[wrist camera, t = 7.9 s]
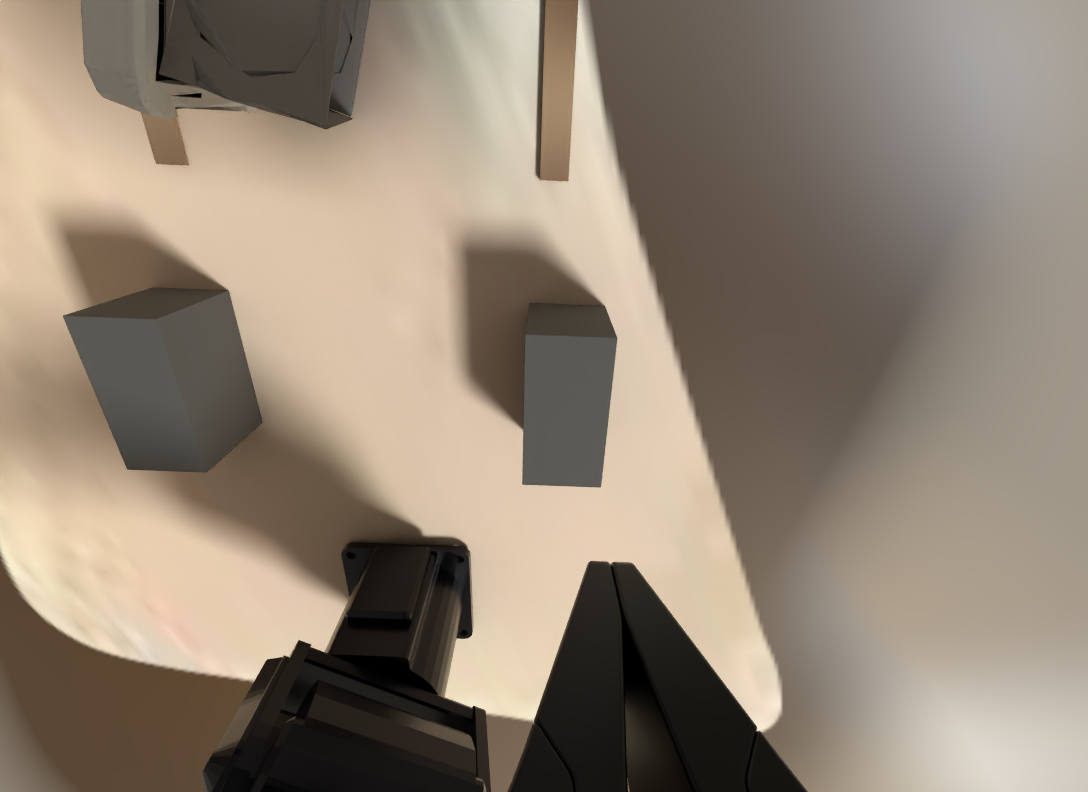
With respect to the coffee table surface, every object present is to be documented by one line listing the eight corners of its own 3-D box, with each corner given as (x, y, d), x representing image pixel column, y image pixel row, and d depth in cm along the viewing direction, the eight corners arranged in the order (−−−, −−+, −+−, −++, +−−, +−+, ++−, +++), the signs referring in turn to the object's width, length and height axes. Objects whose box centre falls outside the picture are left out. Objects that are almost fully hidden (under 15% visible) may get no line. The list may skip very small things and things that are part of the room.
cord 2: (263, 421, 22) (207, 472, 18) (197, 418, 22) (127, 469, 18) (230, 290, 19) (156, 319, 15) (154, 287, 19) (62, 316, 15)
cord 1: (592, 433, 22) (600, 487, 18) (526, 431, 22) (522, 484, 18) (604, 305, 19) (617, 338, 15) (530, 302, 19) (525, 334, 15)
